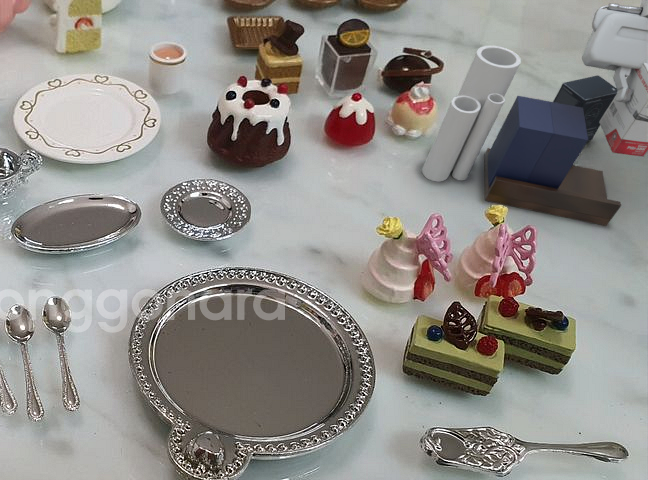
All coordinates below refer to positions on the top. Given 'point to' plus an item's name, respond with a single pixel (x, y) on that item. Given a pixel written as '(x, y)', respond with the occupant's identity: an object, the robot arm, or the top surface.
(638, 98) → the ink box
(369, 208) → the top surface
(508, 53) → the vase
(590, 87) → the box
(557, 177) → the matching cartons
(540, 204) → the shelf
